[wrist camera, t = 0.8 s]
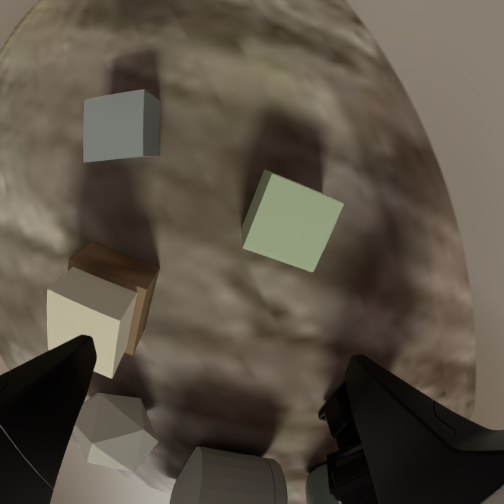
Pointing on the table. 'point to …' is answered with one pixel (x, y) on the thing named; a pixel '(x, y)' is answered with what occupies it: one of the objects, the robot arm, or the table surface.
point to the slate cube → (121, 126)
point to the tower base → (121, 281)
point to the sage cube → (289, 221)
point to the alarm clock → (229, 479)
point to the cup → (319, 487)
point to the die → (115, 431)
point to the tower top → (91, 315)
